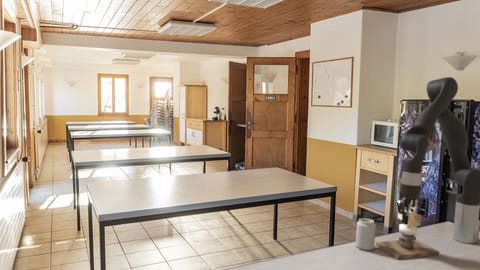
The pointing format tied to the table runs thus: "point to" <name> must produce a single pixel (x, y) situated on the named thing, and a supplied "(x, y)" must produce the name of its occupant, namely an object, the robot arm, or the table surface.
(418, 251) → the lock base
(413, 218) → the twist knob
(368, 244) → the can
